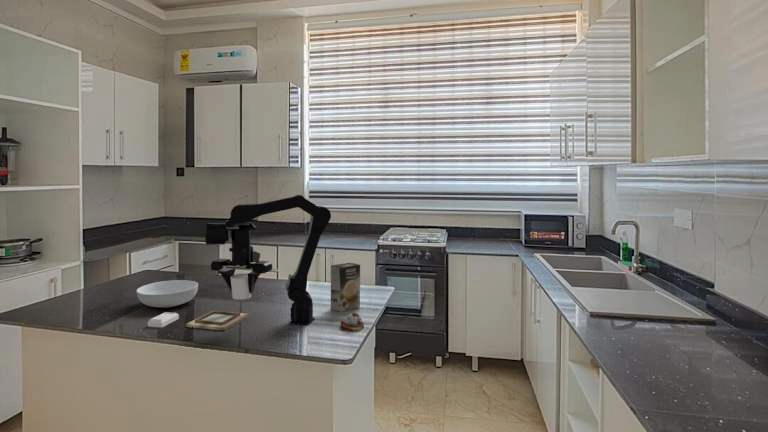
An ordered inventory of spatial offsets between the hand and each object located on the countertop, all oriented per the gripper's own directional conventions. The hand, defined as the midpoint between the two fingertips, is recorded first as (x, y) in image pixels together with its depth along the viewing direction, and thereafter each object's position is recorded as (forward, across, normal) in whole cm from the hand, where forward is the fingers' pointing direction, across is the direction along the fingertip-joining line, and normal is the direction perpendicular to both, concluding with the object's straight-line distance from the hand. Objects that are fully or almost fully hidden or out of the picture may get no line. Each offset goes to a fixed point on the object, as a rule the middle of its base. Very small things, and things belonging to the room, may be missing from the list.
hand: (241, 292), depth 141 cm
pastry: (+11, -34, -8) cm, 37 cm away
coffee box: (+11, -26, -27) cm, 39 cm away
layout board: (+11, +10, -3) cm, 16 cm away
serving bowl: (+12, +40, -16) cm, 45 cm away
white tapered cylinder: (+2, 0, 0) cm, 2 cm away
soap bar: (+12, +28, +2) cm, 30 cm away
